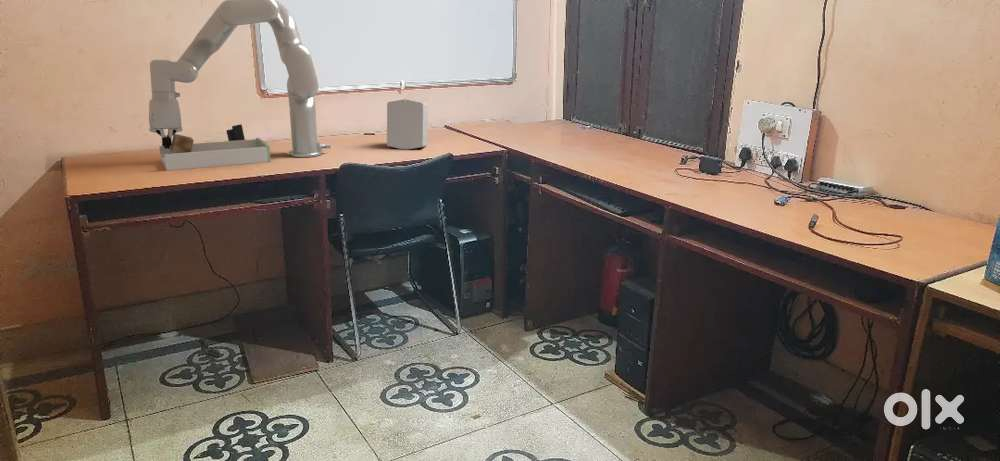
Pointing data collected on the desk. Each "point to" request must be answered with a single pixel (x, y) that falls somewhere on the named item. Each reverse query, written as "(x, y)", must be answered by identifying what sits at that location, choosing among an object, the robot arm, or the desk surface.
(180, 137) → the block
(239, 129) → the speaker
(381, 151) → the desk surface
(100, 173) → the desk surface
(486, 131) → the desk surface
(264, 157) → the shallow grey tray
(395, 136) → the grey upright faceted block
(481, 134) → the desk surface
